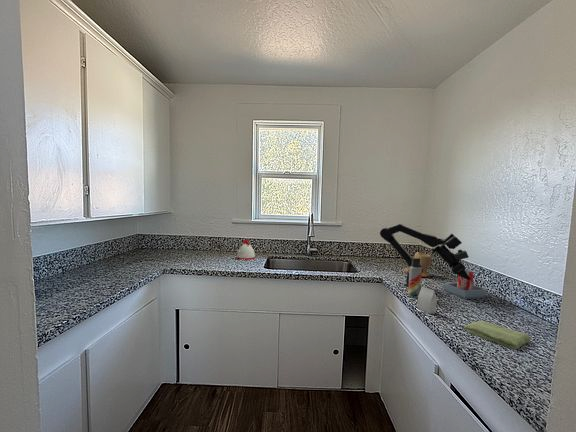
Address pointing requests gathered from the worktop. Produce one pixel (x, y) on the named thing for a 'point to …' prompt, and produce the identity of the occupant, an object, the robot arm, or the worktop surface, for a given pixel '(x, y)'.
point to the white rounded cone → (246, 251)
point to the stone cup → (425, 261)
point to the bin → (470, 294)
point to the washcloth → (498, 334)
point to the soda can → (465, 281)
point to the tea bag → (427, 300)
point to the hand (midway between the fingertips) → (468, 277)
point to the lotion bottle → (415, 278)
